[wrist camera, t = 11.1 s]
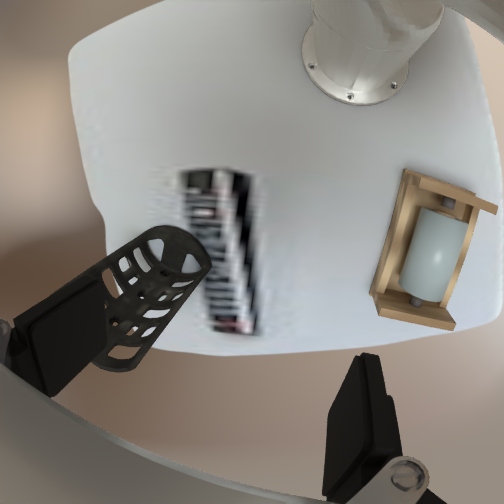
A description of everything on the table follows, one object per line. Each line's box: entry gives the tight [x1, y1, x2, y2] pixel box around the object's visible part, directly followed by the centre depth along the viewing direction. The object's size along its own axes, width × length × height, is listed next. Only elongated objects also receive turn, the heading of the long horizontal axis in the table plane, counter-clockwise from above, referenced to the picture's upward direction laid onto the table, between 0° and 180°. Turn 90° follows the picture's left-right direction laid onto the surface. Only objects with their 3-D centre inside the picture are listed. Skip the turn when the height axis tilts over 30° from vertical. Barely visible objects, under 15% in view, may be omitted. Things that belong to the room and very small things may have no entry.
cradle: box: [369, 169, 498, 331], centre depth 31 cm, size 16×10×7 cm, turn 170°
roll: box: [398, 206, 469, 302], centre depth 30 cm, size 10×6×6 cm, turn 170°
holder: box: [50, 226, 212, 372], centre depth 33 cm, size 11×8×20 cm
